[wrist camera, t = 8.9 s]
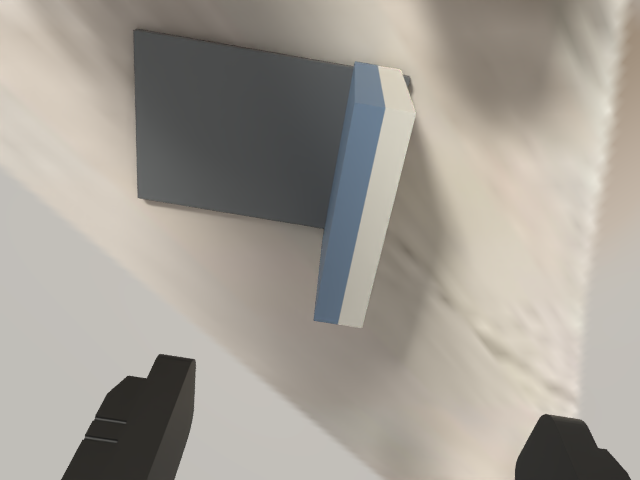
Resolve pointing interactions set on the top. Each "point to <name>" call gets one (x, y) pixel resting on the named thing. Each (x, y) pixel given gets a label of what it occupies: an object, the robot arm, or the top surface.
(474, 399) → the top surface
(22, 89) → the top surface
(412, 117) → the card deck
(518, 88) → the top surface
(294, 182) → the mat
